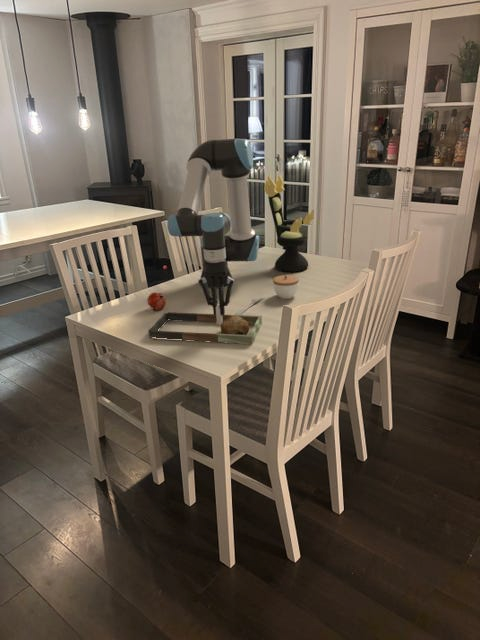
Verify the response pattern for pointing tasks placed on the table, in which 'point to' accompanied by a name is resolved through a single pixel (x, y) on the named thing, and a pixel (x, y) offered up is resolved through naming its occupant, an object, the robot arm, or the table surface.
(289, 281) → the lidded jar
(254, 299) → the fork
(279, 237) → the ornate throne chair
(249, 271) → the table surface
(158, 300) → the pomegranate
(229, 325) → the bread roll
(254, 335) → the multicolored rectangular frame
